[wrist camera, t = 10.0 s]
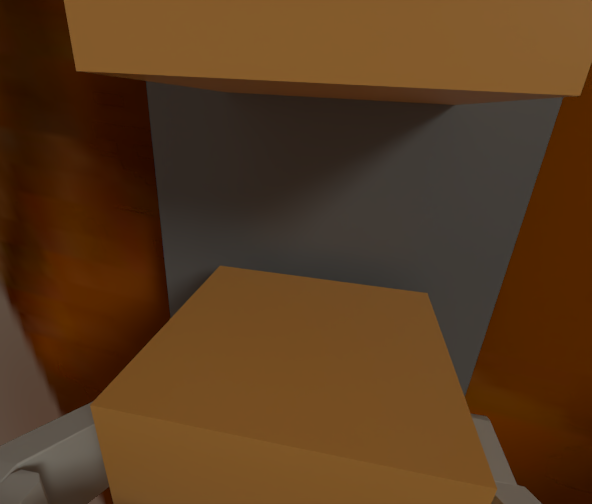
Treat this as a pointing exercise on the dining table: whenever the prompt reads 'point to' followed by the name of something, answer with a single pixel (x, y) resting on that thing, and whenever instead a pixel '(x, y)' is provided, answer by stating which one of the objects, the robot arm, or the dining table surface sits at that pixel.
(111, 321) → the dining table surface
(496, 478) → the robot arm
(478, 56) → the plate
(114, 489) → the tan cardboard cube
